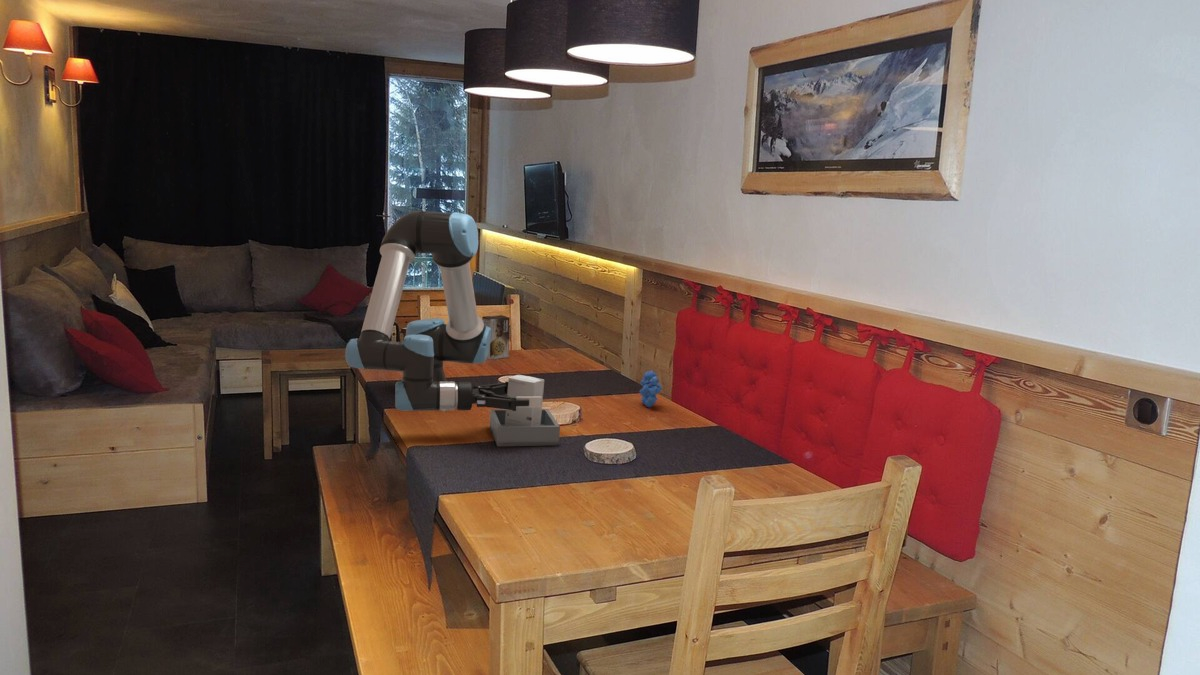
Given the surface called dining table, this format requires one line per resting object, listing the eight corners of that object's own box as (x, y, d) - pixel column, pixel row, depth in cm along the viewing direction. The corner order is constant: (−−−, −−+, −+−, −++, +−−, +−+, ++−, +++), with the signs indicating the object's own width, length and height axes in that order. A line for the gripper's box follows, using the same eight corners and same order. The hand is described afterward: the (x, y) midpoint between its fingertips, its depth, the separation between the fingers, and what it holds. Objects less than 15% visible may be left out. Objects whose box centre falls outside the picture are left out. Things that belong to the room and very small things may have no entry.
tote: (489, 426, 230) (490, 409, 229) (547, 426, 234) (547, 408, 233) (497, 446, 212) (497, 427, 212) (559, 445, 216) (559, 426, 215)
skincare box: (503, 432, 222) (505, 377, 219) (515, 427, 227) (517, 373, 225) (531, 437, 219) (534, 381, 216) (542, 431, 224) (544, 377, 222)
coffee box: (500, 354, 333) (501, 314, 330) (509, 357, 328) (510, 317, 325) (480, 356, 327) (481, 315, 324) (489, 359, 322) (490, 318, 319)
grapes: (668, 411, 257) (670, 373, 255) (647, 412, 255) (650, 373, 253) (654, 402, 268) (656, 365, 266) (634, 402, 266) (636, 366, 264)
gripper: (452, 398, 229) (529, 398, 235) (459, 423, 206) (544, 422, 211) (453, 371, 228) (530, 371, 233) (460, 393, 204) (545, 392, 209)
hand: (537, 395), depth 222 cm, fingers open, 13 cm apart
